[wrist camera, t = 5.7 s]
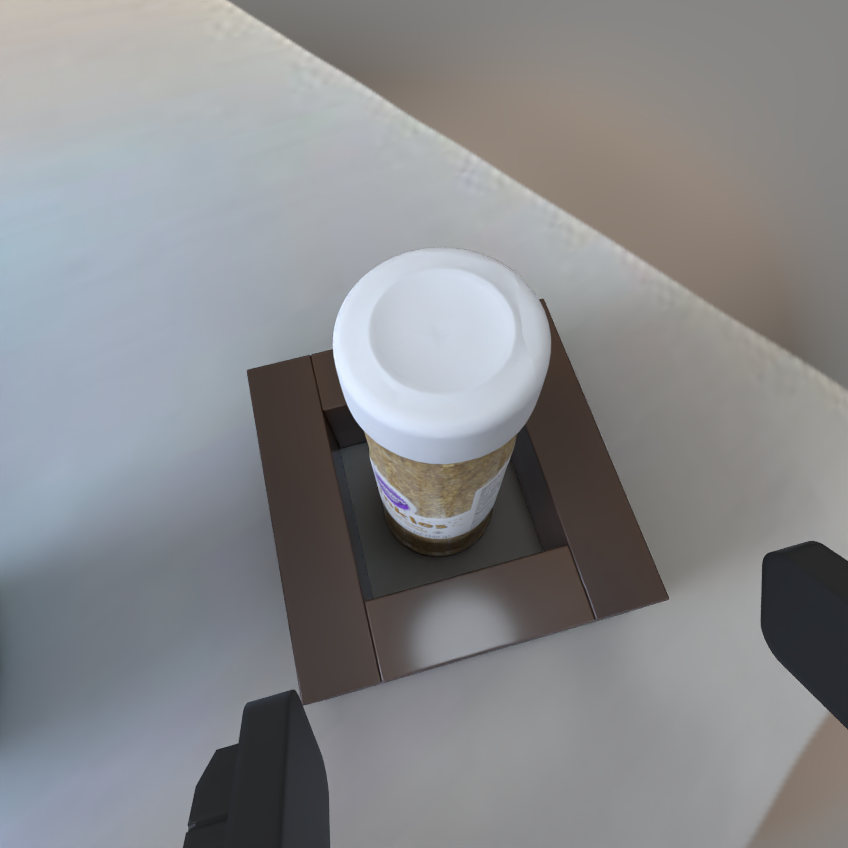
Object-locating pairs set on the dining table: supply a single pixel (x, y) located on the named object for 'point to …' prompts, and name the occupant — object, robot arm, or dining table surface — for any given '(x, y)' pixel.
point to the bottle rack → (456, 596)
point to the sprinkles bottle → (441, 386)
